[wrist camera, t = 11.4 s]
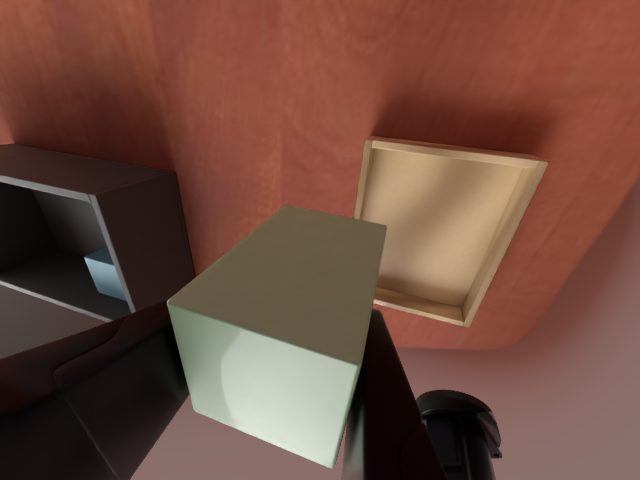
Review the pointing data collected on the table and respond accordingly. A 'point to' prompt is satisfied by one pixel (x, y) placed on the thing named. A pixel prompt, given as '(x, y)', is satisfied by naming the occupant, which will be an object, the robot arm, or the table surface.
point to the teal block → (104, 273)
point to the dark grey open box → (90, 230)
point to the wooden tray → (442, 220)
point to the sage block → (282, 329)
